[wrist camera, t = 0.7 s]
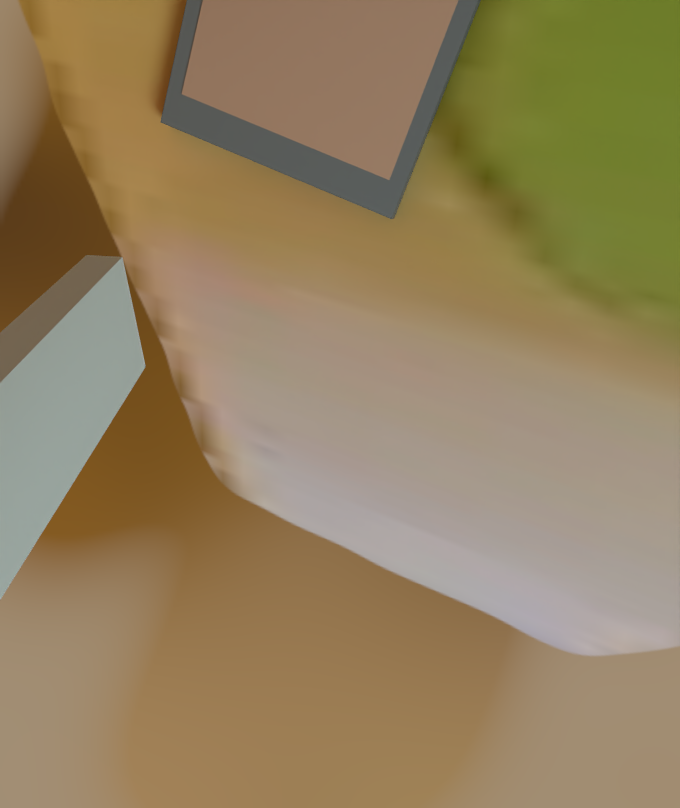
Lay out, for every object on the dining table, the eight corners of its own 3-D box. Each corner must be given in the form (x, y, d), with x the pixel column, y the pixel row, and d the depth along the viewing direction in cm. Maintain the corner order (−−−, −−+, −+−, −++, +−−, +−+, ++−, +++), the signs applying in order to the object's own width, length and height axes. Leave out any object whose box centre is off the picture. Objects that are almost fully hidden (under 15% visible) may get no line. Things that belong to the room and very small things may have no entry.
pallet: (238, -184, 30) (229, -200, 29) (512, -80, 29) (514, -92, 28) (169, 124, 36) (159, 121, 35) (393, 218, 35) (391, 219, 34)
